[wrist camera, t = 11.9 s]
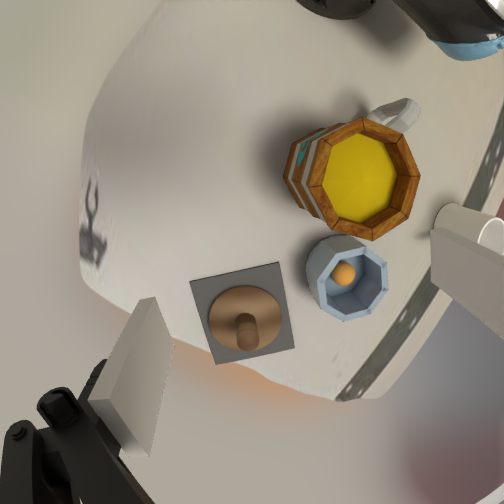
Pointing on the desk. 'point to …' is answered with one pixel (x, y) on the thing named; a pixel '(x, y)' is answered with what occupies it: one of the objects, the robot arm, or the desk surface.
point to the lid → (245, 318)
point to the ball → (343, 273)
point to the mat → (257, 276)
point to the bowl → (359, 290)
